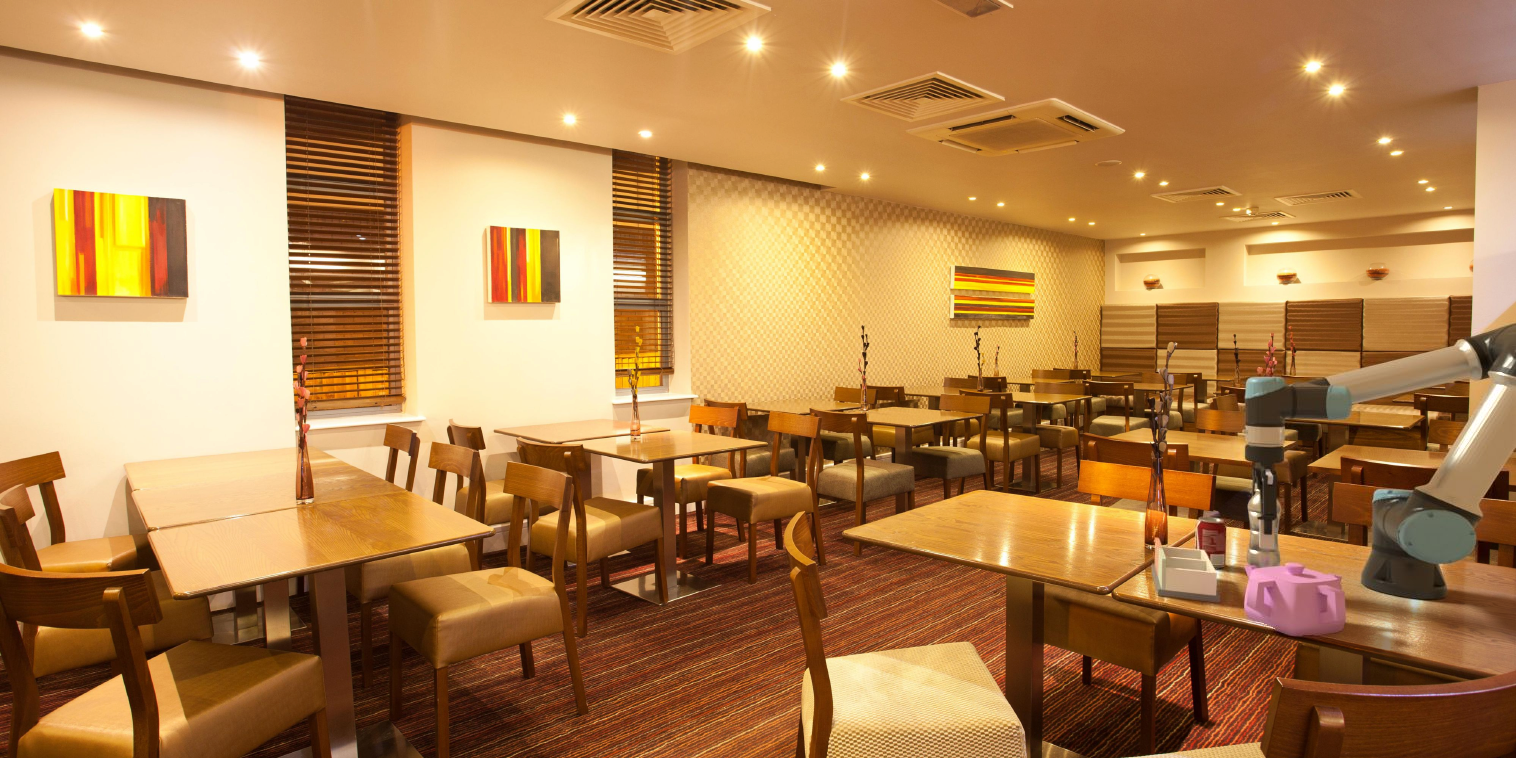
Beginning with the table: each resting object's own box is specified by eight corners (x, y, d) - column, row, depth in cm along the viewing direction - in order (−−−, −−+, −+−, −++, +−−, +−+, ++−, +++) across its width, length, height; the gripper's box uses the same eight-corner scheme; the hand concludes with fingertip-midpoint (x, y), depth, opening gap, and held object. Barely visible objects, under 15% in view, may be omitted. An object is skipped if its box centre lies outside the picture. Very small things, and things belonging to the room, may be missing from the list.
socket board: (1206, 576, 185) (1207, 542, 185) (1219, 602, 166) (1220, 564, 166) (1151, 570, 190) (1152, 537, 190) (1157, 595, 171) (1158, 558, 171)
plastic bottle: (1239, 567, 177) (1240, 482, 176) (1261, 564, 179) (1262, 480, 178) (1265, 575, 171) (1266, 487, 170) (1288, 572, 173) (1288, 484, 172)
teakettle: (1245, 629, 151) (1247, 568, 150) (1242, 604, 166) (1243, 548, 165) (1353, 647, 142) (1355, 581, 142) (1339, 618, 157) (1341, 559, 156)
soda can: (1229, 570, 190) (1231, 522, 190) (1200, 568, 192) (1201, 521, 191) (1219, 562, 197) (1220, 516, 196) (1190, 561, 198) (1191, 515, 198)
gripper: (1237, 439, 184) (1237, 533, 185) (1253, 449, 167) (1252, 553, 168) (1274, 440, 181) (1274, 536, 182) (1294, 450, 164) (1293, 556, 165)
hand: (1263, 544), depth 175 cm, fingers closed on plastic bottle, 6 cm apart
